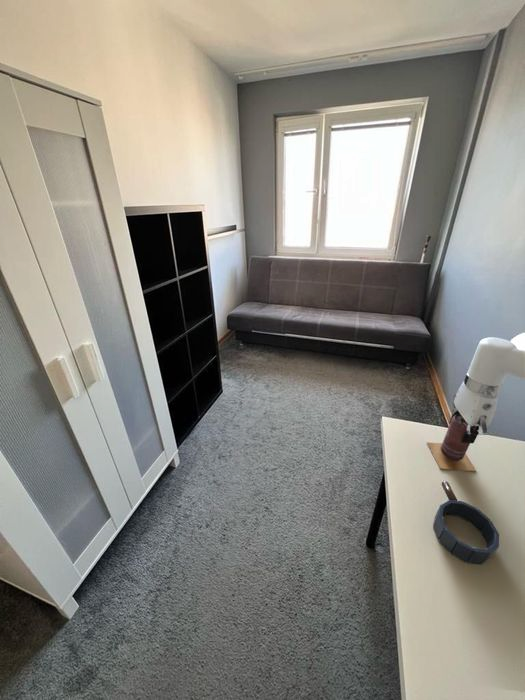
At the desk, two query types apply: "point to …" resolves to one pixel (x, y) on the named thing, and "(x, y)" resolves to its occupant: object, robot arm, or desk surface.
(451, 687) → the desk surface
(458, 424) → the can
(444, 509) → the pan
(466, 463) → the coaster
